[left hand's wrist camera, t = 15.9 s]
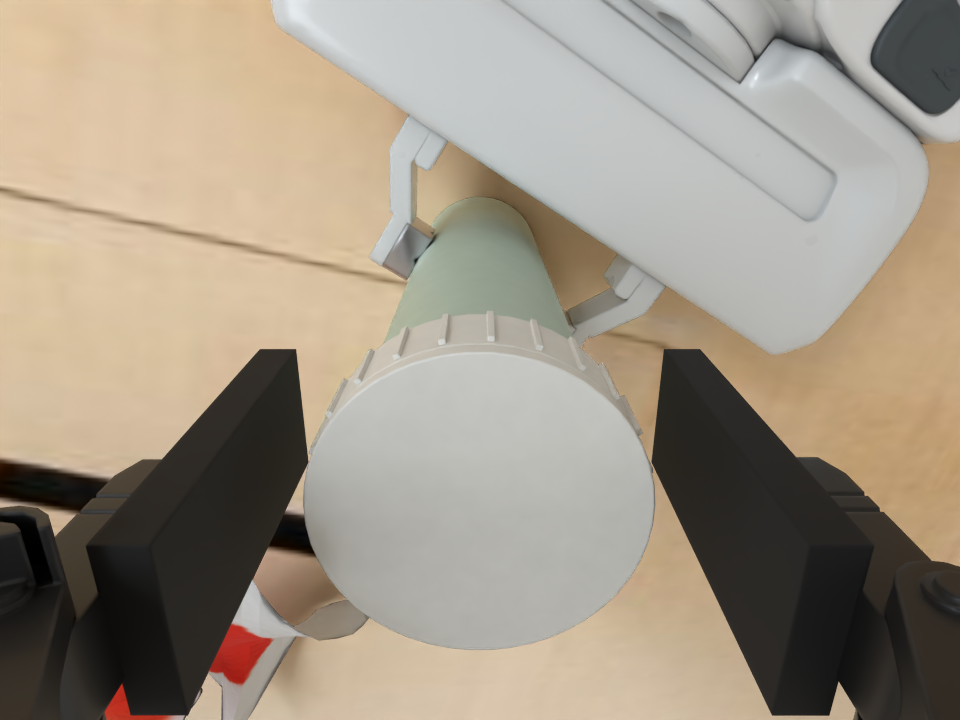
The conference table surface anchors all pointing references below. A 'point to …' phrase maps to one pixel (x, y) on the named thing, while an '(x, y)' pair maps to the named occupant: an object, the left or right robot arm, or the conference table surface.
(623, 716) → the conference table surface
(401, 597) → the lid
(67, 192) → the conference table surface
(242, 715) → the fish
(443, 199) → the conference table surface
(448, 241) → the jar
